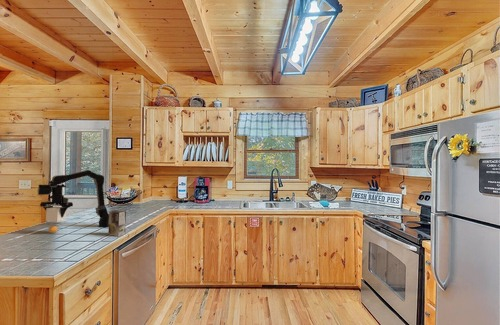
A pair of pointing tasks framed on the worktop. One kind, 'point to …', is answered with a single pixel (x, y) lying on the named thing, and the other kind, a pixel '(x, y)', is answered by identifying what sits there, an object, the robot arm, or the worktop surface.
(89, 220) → the worktop surface
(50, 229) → the ball
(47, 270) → the worktop surface
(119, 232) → the coffee box
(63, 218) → the beige cardboard box
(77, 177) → the robot arm
